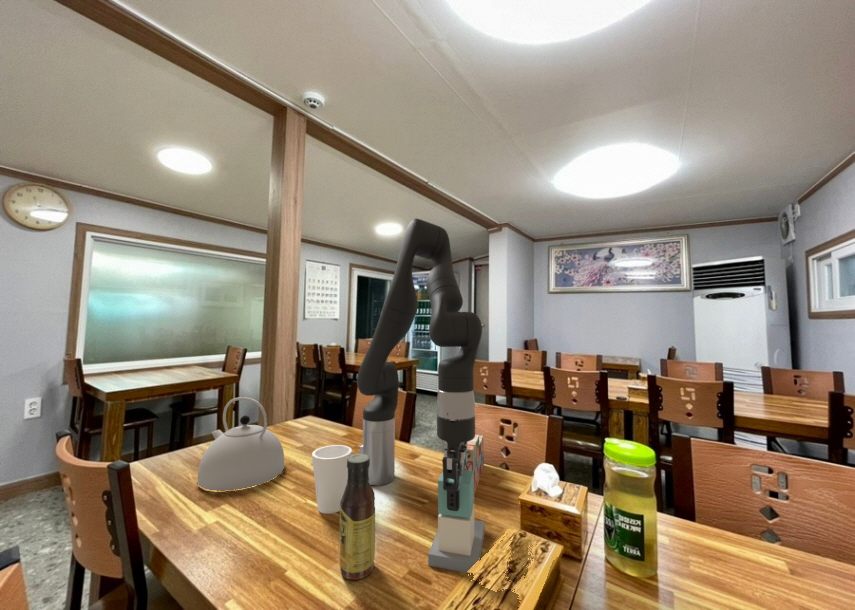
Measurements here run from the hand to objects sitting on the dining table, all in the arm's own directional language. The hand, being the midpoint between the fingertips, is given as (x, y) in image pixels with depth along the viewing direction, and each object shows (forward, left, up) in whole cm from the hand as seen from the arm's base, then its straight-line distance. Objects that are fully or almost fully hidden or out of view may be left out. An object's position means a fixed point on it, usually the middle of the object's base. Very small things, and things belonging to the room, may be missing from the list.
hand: (456, 500), depth 65 cm
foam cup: (-32, +9, -10) cm, 35 cm away
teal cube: (0, 0, -1) cm, 1 cm away
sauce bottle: (-16, -9, -10) cm, 21 cm away
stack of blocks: (-2, +33, -10) cm, 35 cm away
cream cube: (0, 0, -8) cm, 8 cm away
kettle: (-69, +19, -10) cm, 72 cm away
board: (0, +2, -10) cm, 10 cm away
